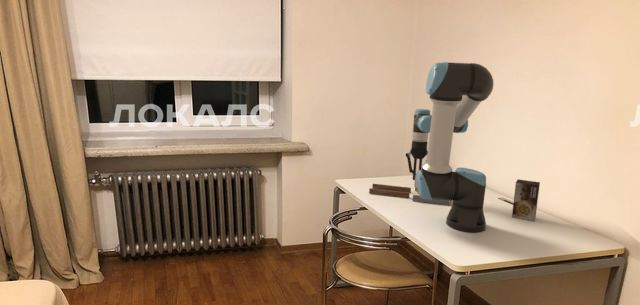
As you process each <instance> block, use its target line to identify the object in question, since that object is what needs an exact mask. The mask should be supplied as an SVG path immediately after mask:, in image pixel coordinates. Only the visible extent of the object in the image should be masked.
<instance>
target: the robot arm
mask: <svg viewBox="0 0 640 305" xmlns="http://www.w3.org/2000/svg"><path fill="white" fill-rule="evenodd" d="M426 78H427V79H426V83H425V84H426V85H425V92H426V94H427V95H429V100H430V101H431V102H432V111H431V110H430V109H427V108H416V109H414V114H413V125H412V127H413V128H412V137H411V139H412V141H411V147H410V148H411V149H410V151H408V152H406V153H405V157H406V158H407V165H408V170H409V173H411V174H412V181H414V185H413V187H414V188H415V187H417V188H418V193H419V194H418V193H417V194H418V195H419V196H420V197H421V198H422V199H430V200H450V201H452V206H451V208H450V209H449V211H448V214H447V216H446V221H445V223H446V225H447V226H448V227H450V228H452V229H454V230H457V231H460V232H465V233H481V232H484V231H485V230H486V227H487V223H486V222H487V221H486V218H485V214H484V213H485V212H484V205H485V202H484V201H485V196H486V195H485V194H486V188H487V176H486V175H485V173H484V172H482V171H479V170H475V169H471V168H467V167H456V168H455V171H453V168H452V167H451V165H450V160H451V152H452V145H453V137H454V133H455V134H460V133H463V134H464V133H466V132H467V131H468V127H469V118H470V117H471V116H472V115H473V113H474V111H475V110H476V109H477V108H478V107H479V105H480V104H481V102H484V101H486V100H487V99H488V98H489V96H490V95H491V94H492V92H493V89H494V78H493V75H492V74H491V71H490V70H488V68H487V67H485V66H484V65H482V64H480V63H475V62H474V63H473V62H471V63H470V62H469V63H467V62H448V61H447V62H446V61H444V62H436V63H434V64H433V65H432V66H431V67H430V69H429V72H428V74H427V77H426ZM411 156H412V157H413V159H414V160H413V167H412V160H411ZM425 157H426V159H425V162H424V163H423V159H424V158H425ZM418 161H419V162H418ZM417 162H418V164H417ZM417 165H418V170H417Z"/></svg>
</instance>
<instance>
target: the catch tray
mask: <svg viewBox="0 0 640 305" xmlns="http://www.w3.org/2000/svg"><path fill="white" fill-rule="evenodd" d="M414 192H417V187H414ZM412 202H415V203H416V202H417V203H423V204H424V203H426V204H432V205H433V204H434V205H441V206H442V205H443V206H450V202H451V200H430V199H422V198H421V197H420V196H419V194H412Z"/></svg>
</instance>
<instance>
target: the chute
mask: <svg viewBox="0 0 640 305" xmlns="http://www.w3.org/2000/svg"><path fill="white" fill-rule="evenodd" d="M371 187H372V188H371ZM371 187H369V189H368V190H369V191H368V194H369V195H379V196H387V197H396V198H403V199H410V194H411V192H412V187H407V186H400V185H397V186H396V185H390V184H382V183H381V184H380V183H372V185H371Z"/></svg>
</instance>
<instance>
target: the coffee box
mask: <svg viewBox="0 0 640 305" xmlns="http://www.w3.org/2000/svg"><path fill="white" fill-rule="evenodd" d="M540 186H541V182H540V181H532V180H524V179H519V178H518V179H516V182H515V188H514V196H513V203H512V204H513V205H512V212H511V218H514V219H520V220H525V221H530V222H535V221H536V218H537V217H536V216H537V210H538V209H537V208H538V203H539V202H538V200H539V195H540V194H539V192H540Z"/></svg>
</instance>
